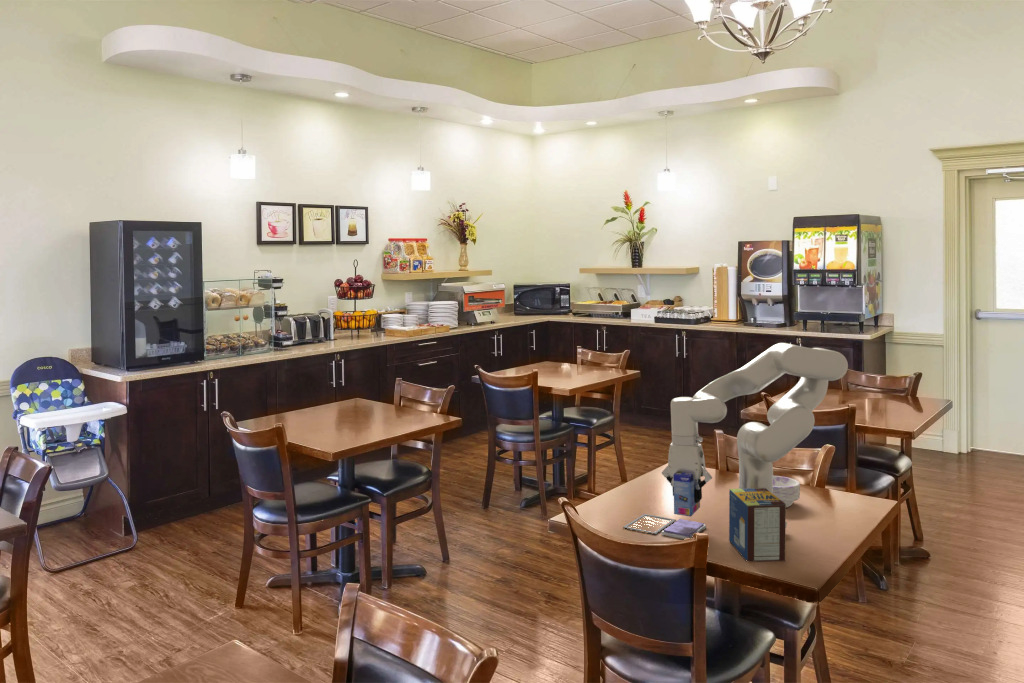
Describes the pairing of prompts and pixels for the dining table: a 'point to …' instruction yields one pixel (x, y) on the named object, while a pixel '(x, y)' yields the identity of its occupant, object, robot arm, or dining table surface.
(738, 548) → the protein box
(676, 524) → the ink pad
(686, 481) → the ink cartridge box
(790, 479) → the paper bowls
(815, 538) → the dining table surface
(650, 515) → the marked card
